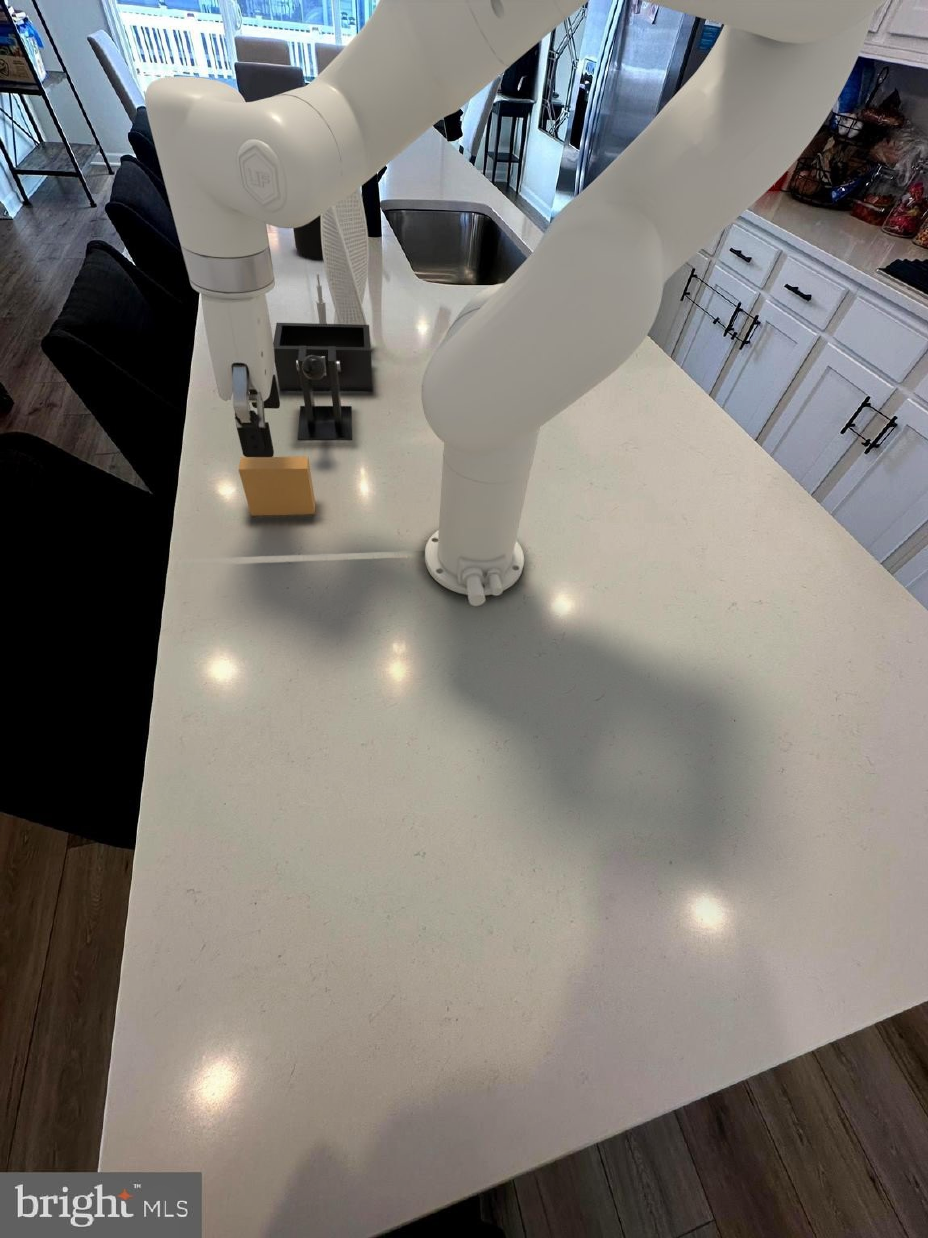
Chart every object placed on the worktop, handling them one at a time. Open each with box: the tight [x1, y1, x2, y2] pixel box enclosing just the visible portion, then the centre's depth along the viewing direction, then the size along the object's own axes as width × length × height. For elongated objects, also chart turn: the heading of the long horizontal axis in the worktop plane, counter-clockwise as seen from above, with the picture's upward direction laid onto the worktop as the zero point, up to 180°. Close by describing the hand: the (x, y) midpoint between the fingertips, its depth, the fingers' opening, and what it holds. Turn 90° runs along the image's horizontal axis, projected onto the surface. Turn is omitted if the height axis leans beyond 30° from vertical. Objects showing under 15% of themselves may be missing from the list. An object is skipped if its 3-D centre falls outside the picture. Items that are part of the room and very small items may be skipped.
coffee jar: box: [292, 215, 324, 261], centre depth 125 cm, size 11×11×18 cm
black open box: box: [273, 322, 374, 393], centre depth 93 cm, size 9×15×8 cm, turn 98°
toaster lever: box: [302, 355, 328, 380], centre depth 76 cm, size 11×3×3 cm, turn 8°
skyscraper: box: [315, 187, 374, 351], centre depth 93 cm, size 8×8×28 cm
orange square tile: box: [238, 456, 316, 516], centre depth 71 cm, size 2×8×8 cm, turn 98°
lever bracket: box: [296, 346, 353, 441], centre depth 82 cm, size 9×8×12 cm
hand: (263, 430), depth 65 cm, fingers open, 9 cm apart
